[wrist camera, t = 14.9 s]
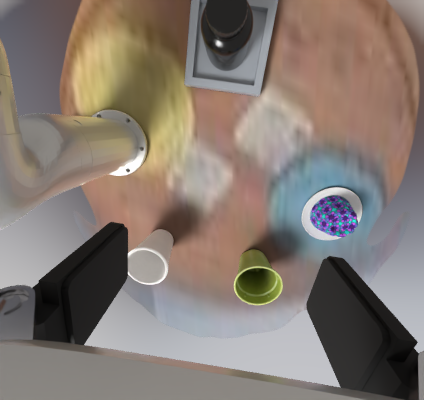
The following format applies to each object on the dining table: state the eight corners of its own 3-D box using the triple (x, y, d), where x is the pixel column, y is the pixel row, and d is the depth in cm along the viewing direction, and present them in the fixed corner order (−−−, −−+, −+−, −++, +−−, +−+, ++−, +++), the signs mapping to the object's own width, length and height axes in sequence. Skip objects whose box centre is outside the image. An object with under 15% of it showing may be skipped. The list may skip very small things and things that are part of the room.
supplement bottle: (255, 36, 33) (270, -10, 22) (235, 79, 36) (238, 57, 24) (218, 13, 33) (213, -46, 22) (199, 59, 35) (186, 26, 24)
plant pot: (240, 237, 47) (242, 260, 39) (279, 248, 47) (290, 274, 39) (227, 270, 50) (227, 298, 42) (264, 280, 50) (272, 310, 42)
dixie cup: (142, 251, 50) (123, 280, 40) (145, 220, 47) (125, 244, 38) (176, 258, 50) (165, 288, 40) (181, 227, 47) (170, 253, 38)
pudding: (302, 241, 46) (311, 255, 41) (298, 191, 43) (308, 200, 38) (359, 234, 45) (375, 247, 40) (361, 181, 41) (379, 189, 36)
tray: (186, 86, 37) (184, 84, 35) (194, -5, 33) (192, -13, 31) (258, 96, 37) (259, 95, 35) (275, 6, 33) (278, -2, 31)
